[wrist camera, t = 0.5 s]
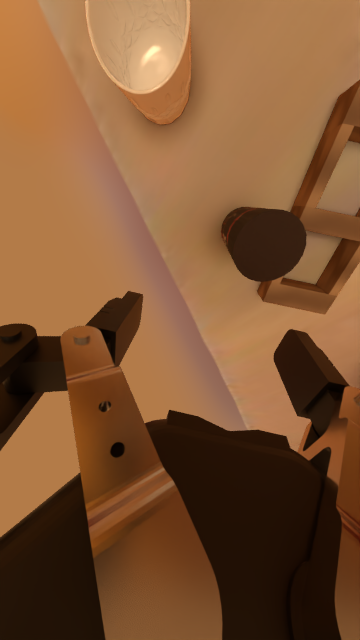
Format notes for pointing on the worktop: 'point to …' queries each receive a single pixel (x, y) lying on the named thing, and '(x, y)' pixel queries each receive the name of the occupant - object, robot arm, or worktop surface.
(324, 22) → the worktop surface
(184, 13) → the white cup
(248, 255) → the deodorant
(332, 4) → the worktop surface
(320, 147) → the wooden divided tray
